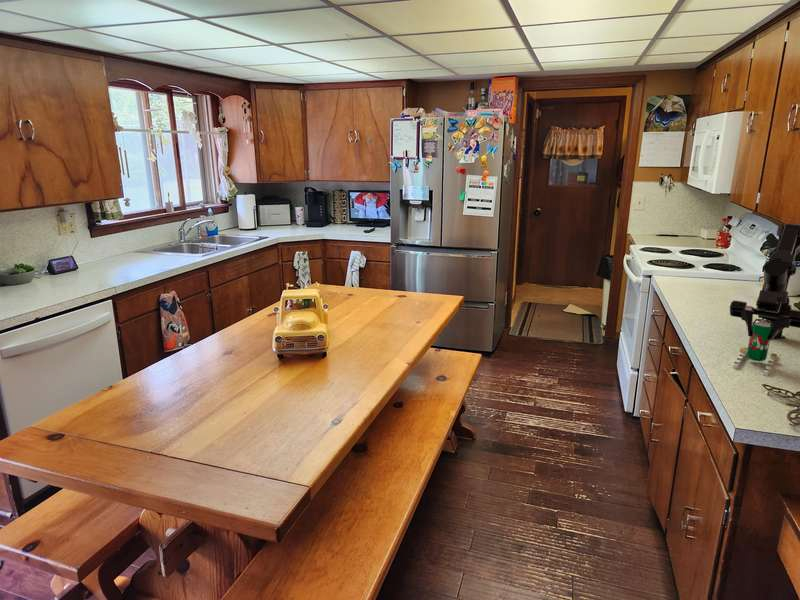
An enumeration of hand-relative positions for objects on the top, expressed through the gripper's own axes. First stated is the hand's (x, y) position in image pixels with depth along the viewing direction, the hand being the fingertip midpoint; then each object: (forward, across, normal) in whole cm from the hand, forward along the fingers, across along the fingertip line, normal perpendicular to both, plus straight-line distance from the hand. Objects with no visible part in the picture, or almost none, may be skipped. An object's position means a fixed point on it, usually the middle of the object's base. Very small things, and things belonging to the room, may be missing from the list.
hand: (759, 337), depth 157 cm
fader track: (+5, 0, +7) cm, 9 cm away
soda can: (+4, 0, +6) cm, 7 cm away
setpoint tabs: (+1, 0, +9) cm, 9 cm away
